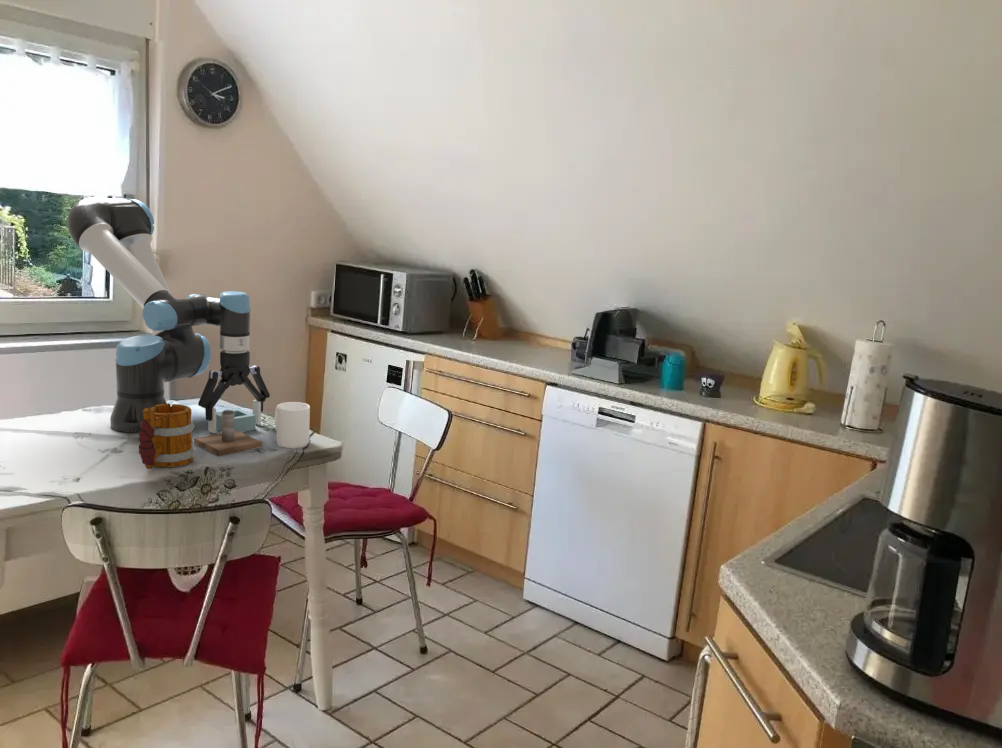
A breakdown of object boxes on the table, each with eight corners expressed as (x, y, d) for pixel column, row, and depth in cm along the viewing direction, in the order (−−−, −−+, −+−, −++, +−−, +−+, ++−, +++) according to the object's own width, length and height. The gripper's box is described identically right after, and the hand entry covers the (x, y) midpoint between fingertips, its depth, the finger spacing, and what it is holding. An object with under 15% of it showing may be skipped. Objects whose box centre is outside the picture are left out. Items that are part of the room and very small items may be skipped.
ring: (213, 427, 231) (213, 412, 230) (239, 422, 237) (239, 408, 236) (228, 434, 226) (228, 419, 225) (255, 429, 231) (255, 415, 231)
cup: (288, 450, 216) (289, 412, 214) (261, 439, 224) (262, 401, 222) (315, 444, 222) (316, 407, 220) (288, 433, 230) (288, 397, 228)
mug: (204, 457, 207) (203, 397, 204) (162, 478, 191) (161, 414, 188) (164, 450, 209) (163, 391, 206) (120, 471, 194) (119, 407, 190)
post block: (193, 443, 216) (193, 409, 214) (236, 435, 225) (236, 402, 223) (218, 456, 208) (218, 420, 206) (261, 447, 217) (262, 413, 215)
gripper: (198, 357, 215) (199, 438, 219) (283, 348, 233) (282, 423, 238) (183, 352, 220) (184, 432, 224) (267, 343, 238) (267, 417, 242)
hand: (235, 427), depth 231 cm, fingers open, 13 cm apart
